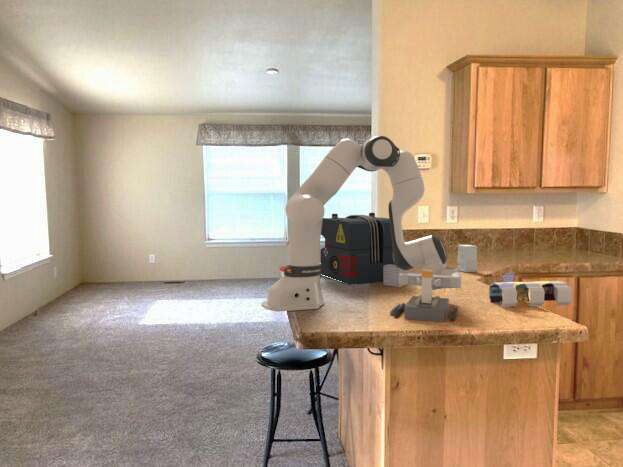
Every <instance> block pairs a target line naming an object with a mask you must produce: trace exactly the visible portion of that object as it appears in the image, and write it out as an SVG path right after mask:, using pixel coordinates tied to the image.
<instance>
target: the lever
mask: <svg viewBox="0 0 623 467" xmlns="http://www.w3.org/2000/svg"><path fill="white" fill-rule="evenodd" d="M432 280H433V270H422V286H421V295H422V302H421V303H432V297H433V290H432Z"/></svg>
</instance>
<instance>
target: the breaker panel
mask: <svg viewBox="0 0 623 467" xmlns="http://www.w3.org/2000/svg"><path fill="white" fill-rule="evenodd" d="M421 302H422V294H420V295H418V296H417V295H412V296H411V298H410V299H409V300H408V301H407V303H405V304H406V305H405V307H404V312H403V313H404V318H405V319H406V320H417V321H430V322H439V323H444V322H445V320H446V318H447V315H448V313H449V310H450V304H449V303H450V298H447V297H441V296H440V295H438V296H437V295H436V296H432V303H421Z"/></svg>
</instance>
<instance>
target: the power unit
mask: <svg viewBox="0 0 623 467" xmlns="http://www.w3.org/2000/svg"><path fill="white" fill-rule="evenodd" d="M321 236H322V237H323V238H324V247H322V248H320V264H321V274H322V275H325V276H328V277H331V278H333V279H336V280H339V281H342V282H344V283H343V284H345V283H347V284H346V285H348V284H350V285H349V286H352V285H351V284H357V285H365V283H367V284H375V283H376V284H377V283H383V266H384V265H388V264H390V265H395V263H394V260H393V246H392V237H391V229H390V221H389V217H377V216H376V214H375V212H369V213H368V214H350V215H346V216H345V217H339V215H338V213H332V214H331V217H323V222H322V230H321ZM342 282H341V283H342Z"/></svg>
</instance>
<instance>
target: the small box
mask: <svg viewBox="0 0 623 467" xmlns="http://www.w3.org/2000/svg"><path fill="white" fill-rule="evenodd" d="M477 264H478V245H473V244H457V266H456V267H457V268H456V269H458V271H460V272H463V273H476V272H477V269H478V268H477V266H478V265H477Z"/></svg>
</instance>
